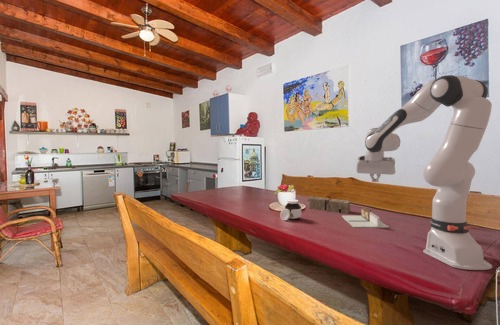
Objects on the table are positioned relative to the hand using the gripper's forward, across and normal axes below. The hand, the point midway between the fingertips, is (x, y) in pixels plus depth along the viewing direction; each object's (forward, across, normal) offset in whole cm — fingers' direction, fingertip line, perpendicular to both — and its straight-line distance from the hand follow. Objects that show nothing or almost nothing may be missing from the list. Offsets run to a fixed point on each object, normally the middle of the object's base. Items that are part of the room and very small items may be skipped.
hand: (375, 181), depth 148 cm
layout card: (+25, +8, -3) cm, 26 cm away
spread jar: (+24, +42, +24) cm, 54 cm away
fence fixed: (+25, +9, -9) cm, 28 cm away
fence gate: (+24, +1, 0) cm, 24 cm away
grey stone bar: (+24, +39, -15) cm, 49 cm away
